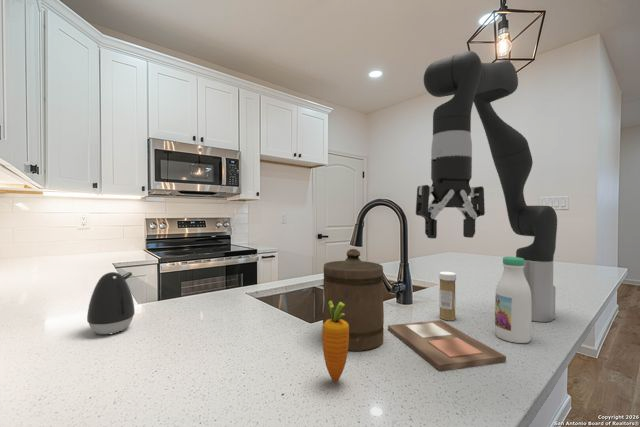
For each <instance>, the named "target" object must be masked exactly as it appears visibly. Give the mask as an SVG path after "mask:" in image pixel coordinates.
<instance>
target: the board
mask: <svg viewBox="0 0 640 427" xmlns="http://www.w3.org/2000/svg"><path fill="white" fill-rule="evenodd" d="M387 330H388V331H389V332H390V333H391V334H393V335H394V336H395V337H396V338H398V339H399V340H400V341H401V342H402V343H403V344H405V345H406V346H408V348H410V349H411V350H412V351H414V352H415V353H416V354H417V355H418V356H420V357H421V358H422V359H423V360H425V361H426V362H427V363H428V364H429V365H431V366H433V367H434V368H435V369H436V370H437V371H438V372H442V371H448V370H449V371H450V370H457V369H464V368H471V367H479V366H487V365H491V364H492V365H493V364H500V363H501V364H502V363H506V362H507V356H506V355H505V354H503V353H501V352H499V351H497V350H496V349H494V348H492V347H490V346H489V345H487V344H485V343H483V342H481V341H479V340H478V339H476V338H474V337H472V336H470V335H469V334H466V333H465V332H463V331H461V330H458V329H457V328H456V327H454V326H452V325H450V324H448V323H447V322H445V321H443V320H442V319H441V320H430V321H419V322H410V323H409V322H408V323H399V324H398V323H396V324H387Z"/></svg>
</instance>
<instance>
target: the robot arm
mask: <svg viewBox="0 0 640 427" xmlns="http://www.w3.org/2000/svg"><path fill="white" fill-rule="evenodd" d="M516 69H517V68H516V67H515V66H514V64H513V63H512V62H511V61H510V60H501V61H497V62H482V61H481V58H480V56H479V55H478V54H477V53H476V52H475V51H473V50H465V51H461V52H458V53H456V54H452V55H449V56H447V57H444V58H440V59H437V60H435V61H433V62H432V63H430V64H429V65H428V66H427V67H426V68H425V72H424V74H423V85H424V89H425V90H426V92H428V93H429V95H431V96H433V97H437V98H444V97H449V96H453V97H452V98H451V99H449V100H448V101H445V102H444V103H441V104H440V105H438V106H437V107H436V108H434V110H433V115H432V141H431V151H430V154H431V155H430V157H431V159H430V160H431V161H430V164H431V165H430V167H431V168H430V179H431V182H432V184H431V186H430V185H428V184H424V185H418V186H417V188H416V199H415V200H416V203H415V204H416V205H415V215H416V216H419V217H422V218H424V226H425V227H424V234H425V235H426V237H427V238H428V239H437V234H438V233H437V232H438V231H437V230H438V226H437V225H438V222H437V221H438V219H436V218H437V216H438V215H439V214H440V212H441V211H443V210H444V209H445V208H456V209H457V210H458V211H459V212H460V213H461V215H462V216H463V221H462V222H463V224H462V225H463V227H462V228H463V230H462V231H463V233H462V234H463V237H464V238H468V239H469V238H474V236H475V235H476V220H477V218H479V217H481V216H482V217H483V216H484V215H485V214H486V211H485V189H484V187H483V186H482V185H481V186H472V187H471V185H470V181H471V179H472V175H473V173H472V172H473V171H472V170H473V162H472V161H473V142H472V135H471V132H472V131H471V129H472V128H471V127H472V125H471V124H472V122H471V121H472V109H473V104H474V106H475V109H476V112H477V114H478V116H479V119H480V121H481V124H482V126H483V129H484V130H483V131H484V132H485V133H484V134H485V136H486V139H487V140H486V141H487V143H488V146H489V149H490V153H491V157H492V161H493V165H494V167H495V170H496V173H497V176H498V178H499V182H500V185H501V188H502V193H503V196H504V197H503V198H504V201H505V208H506V211H507V213H506V214H507V217H508V221H509V224H510V227H511V230H512V231H513V232H514V234H516V235H519V236H524V237H533V241H532V243H531V244H529V245H527V246H523V247H519V248H517V249H516V252H515V257H519V258H523V259H524V268H523V272H524V275H525V278H526V280H527V282H528V284H529V287H530V290H531V302H532V315H531V322H532V321H533V322H540V323H548V322H552V321H553V320H555V319H556V293H557V292H556V290H557V288H556V286H555V285H554V257H555V253H556V246H557V245H556V244H557V232H558V231H557V230H558V216H557V212H556V211H555V208H554V207H552V206H549V205H527V203H526V200H525V195H524V189H525V185H526V183H527V180H528V178H529V176H530V173H531V170H532V168H533V162H534V161H533V156H532V153H531V152H532V151H531V149H530V145H529V142H528V140H527V139H526V137H525V136H524V135H523V134H522V133H521V132H519V130H517V129H515V128H513V126H511V125H509V124H508V123H507V122H505V121H504V120H503V119H502V118H501V117H500V116H499V115H498V114H497V113H496V110H494V108H493V105H492V104H491V103H492V102H495V101H498V100H501V99H504V98H505V97H509V96H510V95H512V94H513V93H515V92H516V90H518V86H519V77H518V74H517V73H518V72H517V70H516ZM431 195H432V197H433V198H432V200H431V201H429V200H430V196H431ZM469 197H470V198H469Z"/></svg>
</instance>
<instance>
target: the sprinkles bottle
mask: <svg viewBox="0 0 640 427" xmlns="http://www.w3.org/2000/svg"><path fill="white" fill-rule="evenodd" d="M438 276H439V314H438V318H440V319H441V320H442V321H443V320H444V321H449V322H450V321H454V320H456V318H457V317H456V307H457V306H456V305H457V304H456V302H457V300H456V280H457V274H456V272H453V271H452V272H451V271H440V272H439V274H438Z"/></svg>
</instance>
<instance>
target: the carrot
mask: <svg viewBox="0 0 640 427" xmlns="http://www.w3.org/2000/svg"><path fill="white" fill-rule="evenodd" d="M328 303H329V306H330V313H331V317H332V319H328V320H327V321H326V322H325V323H324V324H323V323H322V328H321V330H322V331H321V332H322V335H321V336H322V352H323V357H324V362H325V366H326V369H327V372H328V374H329V377H330V378H331V380H332V381H333V382H334V383H335V382H336V383H337V382H339V380H340V379H341V376H342V374H343V373H344V369H345V367H346V362H347V358H348V352H349V350H348V345H349V324H348V323H347V322H346V321H344V320H342V319H341V318H342V317H343V316H344V315H345V314H344V313H341V314H340V311H341V309H342V308H343V307H344V305H345V304H343V303H342V302H339V304H338V306H337V308H336V310H335V313H334V305H333V303H332V301H329V302H328ZM339 314H340V315H339Z"/></svg>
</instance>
